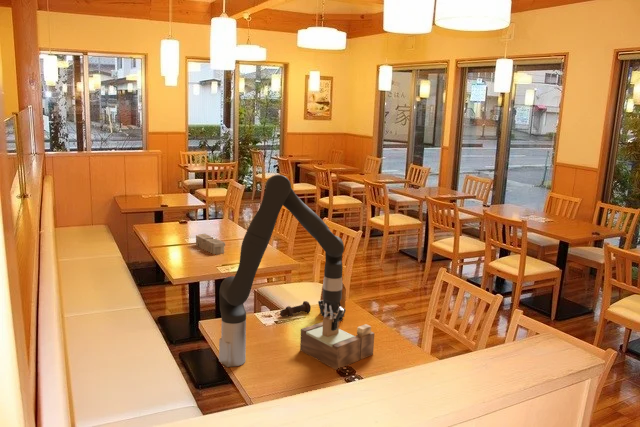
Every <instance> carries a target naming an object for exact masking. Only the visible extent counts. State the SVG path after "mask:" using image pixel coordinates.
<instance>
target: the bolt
mask: <svg viewBox="0 0 640 427" xmlns="http://www.w3.org/2000/svg"><path fill="white" fill-rule="evenodd" d="M302 312H305V313H306V314H308V313H310V312H311V304H310V302H309V301H308V300H307V301H305V300H304V301H303V303H302V304H300V305H295V306H290V305H288V306H286V307H285V308H284V309H283V308H282V309H281V310H280V311H279V315H280V317H289V316H291V317H292V316H294V314H297V313H302Z"/></svg>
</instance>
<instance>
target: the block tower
mask: <svg viewBox="0 0 640 427" xmlns="http://www.w3.org/2000/svg"><path fill="white" fill-rule="evenodd" d="M195 246H196V247H198V248H200V249H201V250H203V249H204V250H203V251H205V250H206V251H205V252H207V251H208V252H207V253H209V252H210V253H209V254H211V253H212V254H211V255H213V254H216V255H221V254H220V253H222V254H224V253H225V247H226V242H224V241H222V240H220V239H218V238H214V237H213V236H211V235H209V234H207V233H200V234H196V235H195Z"/></svg>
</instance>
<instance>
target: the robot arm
mask: <svg viewBox="0 0 640 427" xmlns="http://www.w3.org/2000/svg"><path fill="white" fill-rule="evenodd" d="M264 191H265V192H264V194H263V198H262V201H261V204H260V206H259V208H258V210H257V212H256V213H255V215H253V216H254V217H253V218H252V220H251V221H250V224H249V226H248V228H247V229H246V232H245V235H244V237H243V240H242V242H241V247H240V254H239V255H240V256H239V263H238V267H237V270H236V273H235V275H231V276H227V277H225V278H224V279H223V280H222V282H221V283H220V286H219V311H220V316H221V331H220V332H221V335H220V336H221V337H219V339H218V346H219V347H218V348H219V350H218V362H220V363H221V364H222V365H223V366H225V367H227V368H230V367H239V366H242V365H244V364H245V363H246V358H247V357H246V353H247V352H246V351H247V350H246V349H247V348H246V347H247V311H246V308H245V306H244V305H245V302H246V301H247V300H248V299H249V297H250V293H251V291H252V287H253V284H254V281H255V277H256V273H257V271H258V270H259V266H260V264H261V262H262V259H263V257H264V254H265V251H266V250H267V247H268V245H269V243H270V240H271V238H272V234H273V233H274V229H275V226H276V223H277V219H278V216H279V214H280V212H281V210H282V208H283V207H284V208H286V210H287V211H288V212H289V213H291V214H292V216H294V218H295V219H296V220H297V222H299V224H300V225H301V226H302V227H303V229H305V230H306V232H308V234H310V235H311V237H312V238H313V239H314V240H316V242H317V243H318V244H319V246H320V247H321V249H322V250H323V251H324V252H325V253H324V254H325V262H324V271H323V272H324V273H323V280H322V282H323V283H322V286H323V300H321V301H320V300H318V302H317V303H318V307H319V313H320V312H321V314H320V315H321V316H324V317H323V318H325V317H328V316H332V326H331V330H332V331H334V330H336V329H337V322H338V321H339V322H341V321H342V320H343V318H344V317H345V315H344V314H345V313H346V311H347V310H346V308H345V309H342V307H341V304H340V300H341V299H342V282H343V253H344V251H345V245H344V241H343V239H342V238H341V237H340V236H338V235H335V234H334V233H333V232H332V231H331V230H330V228H329V226H328V225H327V224H326V223H325V221H324V220H323V219H322V218H321V217H320V216H319V215H318V214H317V213H316V212H315V211H313V210H312V208H310V207H309V206H308V205H307V204H306V203H304V201H303V200H302V199H301V198H300V197H299V196H298V195H297V194H296V192H295V191H294V189H293V188H292V185H291V181H290V180H289V178H288V177H286V176H285V175H283V174H275V175H272V176H270V177H269V178H268V179H267V180H266V183H265V190H264ZM323 309H324V312H323ZM333 313H334V314H333ZM343 316H344V317H343Z"/></svg>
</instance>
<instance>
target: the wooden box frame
mask: <svg viewBox="0 0 640 427" xmlns="http://www.w3.org/2000/svg"><path fill="white" fill-rule="evenodd" d="M322 326H323V321H322V322H318V323H315V324H313V325H309V326H305V327H303V328H300V342H299V344H300V345H299V349H300V351H301V352H303V353H305V354H306V355H308V356H310V357H311V358H314V359H315V360H316V361H319V362H321V363H323V364H324V365H327V366H329V367H330V368H332V369H333V370H339V369H341V368H340V367H342V368H344V367H346V366H349V365H351V364H353V363H356V362H358V361H361V360H362V359H365V358H367V357H370V356H372V355H374V350H375V349H374V347H375V332H373V331H371V333H370V334H367V335H365V336H360V335H358V334H356V335H354V336H355V337H353V338H350V339H347V340H345V341H342V342H339V343H336V344H334V345H333V347H331V346H329V345H327V344H325V343H323V342H321V341H319V340H317V339H315V338H313V337H311V336H309V335H307V334H306V332H307V331H310V330H313V329H316V328H319V327H322ZM338 368H339V369H338Z"/></svg>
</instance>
